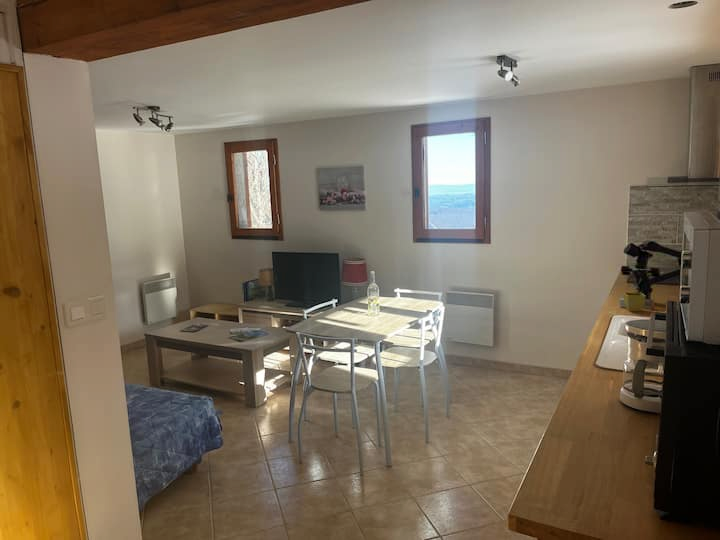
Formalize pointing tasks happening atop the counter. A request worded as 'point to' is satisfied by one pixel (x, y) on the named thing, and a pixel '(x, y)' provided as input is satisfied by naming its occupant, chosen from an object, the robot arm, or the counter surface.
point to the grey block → (622, 303)
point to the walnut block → (648, 304)
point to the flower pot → (634, 301)
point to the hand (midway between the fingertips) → (637, 283)
